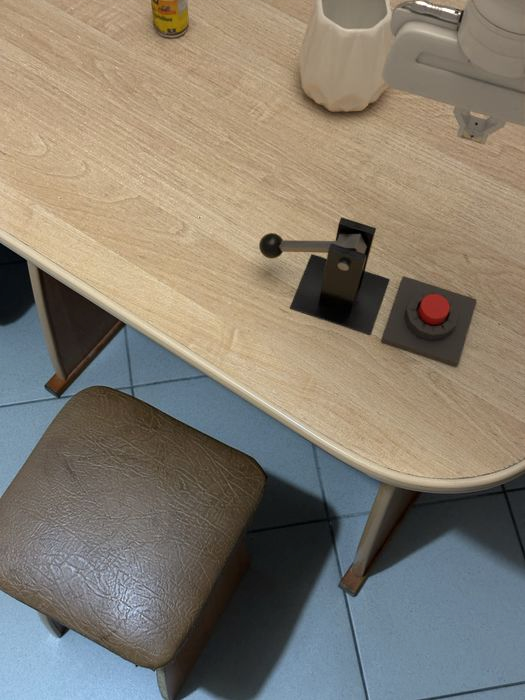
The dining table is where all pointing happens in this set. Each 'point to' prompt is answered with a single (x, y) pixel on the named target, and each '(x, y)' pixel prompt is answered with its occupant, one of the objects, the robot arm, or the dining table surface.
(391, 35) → the vase
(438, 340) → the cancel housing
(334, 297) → the switch bracket
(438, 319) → the button
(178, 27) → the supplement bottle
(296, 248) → the switch lever
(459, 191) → the dining table surface
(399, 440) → the dining table surface
